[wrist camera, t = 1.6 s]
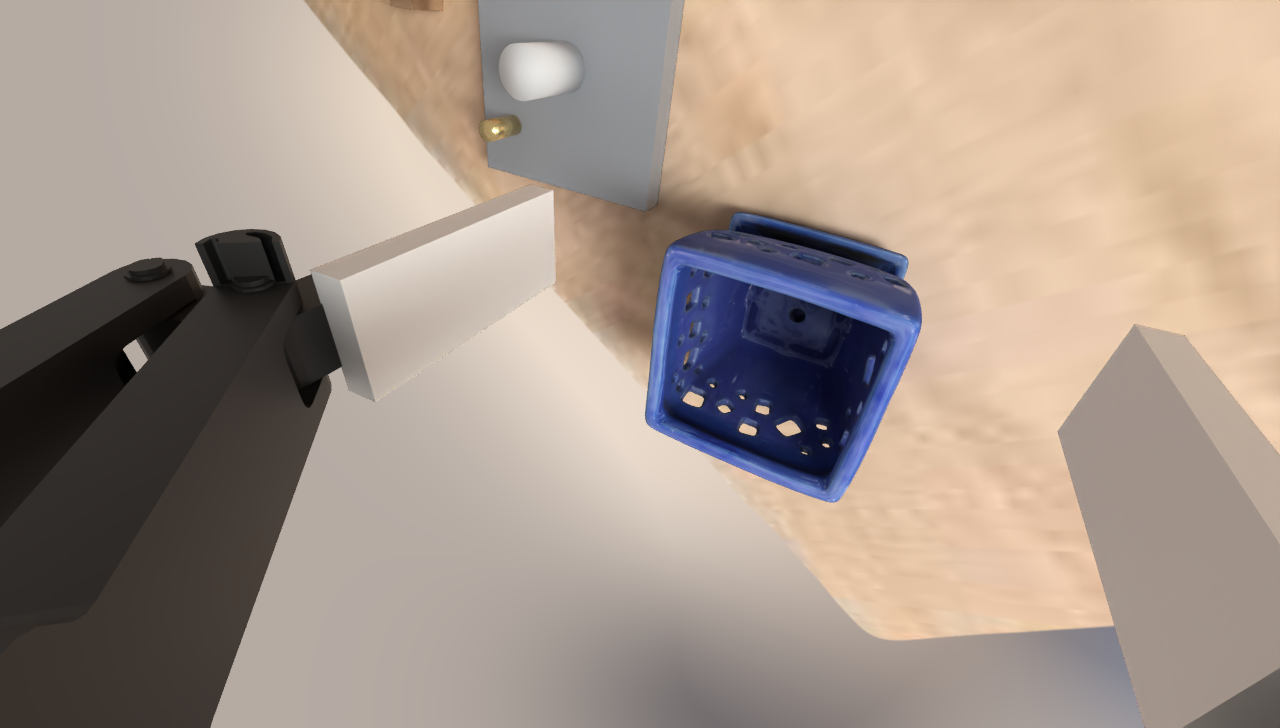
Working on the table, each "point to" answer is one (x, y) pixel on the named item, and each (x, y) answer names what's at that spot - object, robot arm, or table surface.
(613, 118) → the post base
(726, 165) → the table surface
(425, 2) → the block
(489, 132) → the dowel pin
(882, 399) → the flower pot
